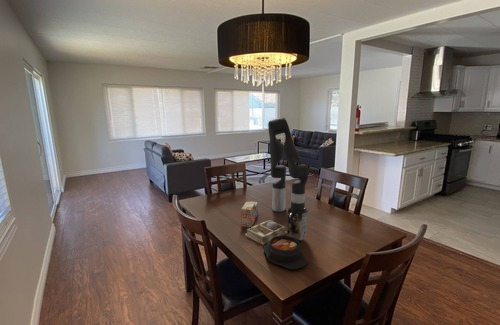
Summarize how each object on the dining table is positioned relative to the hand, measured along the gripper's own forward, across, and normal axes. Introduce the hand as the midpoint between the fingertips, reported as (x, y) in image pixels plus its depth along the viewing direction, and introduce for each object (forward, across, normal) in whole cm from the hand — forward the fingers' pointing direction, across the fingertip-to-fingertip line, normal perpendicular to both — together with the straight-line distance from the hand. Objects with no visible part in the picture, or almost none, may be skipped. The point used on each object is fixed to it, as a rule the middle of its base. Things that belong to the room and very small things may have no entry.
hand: (296, 228), depth 143 cm
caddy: (+7, +8, -16) cm, 19 cm away
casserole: (+7, +19, +7) cm, 22 cm away
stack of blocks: (+8, +2, -37) cm, 38 cm away
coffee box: (+5, 0, 0) cm, 5 cm away
